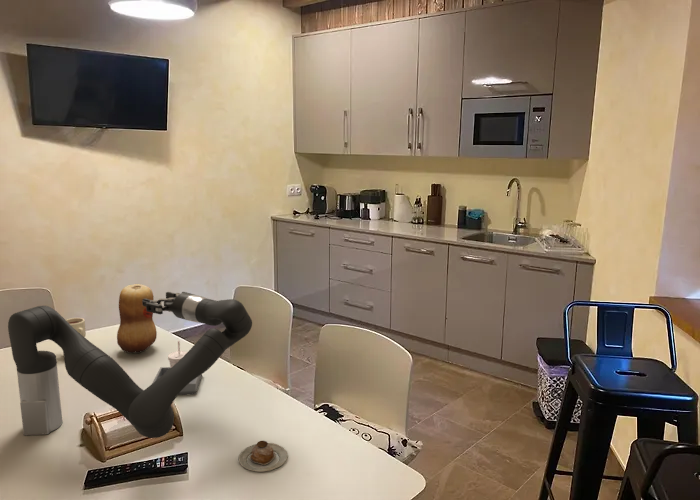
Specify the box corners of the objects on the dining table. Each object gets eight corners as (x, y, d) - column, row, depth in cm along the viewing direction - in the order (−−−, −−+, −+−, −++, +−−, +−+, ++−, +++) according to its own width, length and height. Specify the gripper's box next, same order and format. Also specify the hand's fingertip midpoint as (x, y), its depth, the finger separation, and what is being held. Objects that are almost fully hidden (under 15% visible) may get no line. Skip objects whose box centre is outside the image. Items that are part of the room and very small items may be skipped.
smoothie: (193, 379, 173) (191, 338, 170) (185, 388, 167) (183, 346, 164) (174, 378, 174) (172, 337, 171) (165, 387, 168) (163, 345, 165)
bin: (196, 394, 166) (195, 383, 165) (151, 396, 164) (151, 385, 163) (202, 375, 178) (201, 366, 178) (161, 377, 177) (160, 367, 176)
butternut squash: (140, 360, 189) (136, 292, 184) (110, 355, 193) (105, 288, 188) (165, 347, 202) (162, 283, 197) (136, 342, 206) (132, 279, 201)
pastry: (264, 441, 141) (264, 425, 140) (297, 458, 134) (297, 442, 133) (228, 462, 132) (228, 445, 131) (261, 481, 125) (261, 463, 124)
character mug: (58, 354, 193) (55, 320, 191) (77, 348, 199) (74, 315, 196) (75, 362, 187) (72, 326, 185) (94, 355, 193) (91, 321, 191)
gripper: (173, 327, 148) (135, 316, 157) (211, 313, 160) (174, 304, 169) (172, 301, 147) (134, 291, 155) (211, 289, 159) (173, 281, 167)
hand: (155, 298), depth 162 cm, fingers open, 8 cm apart
